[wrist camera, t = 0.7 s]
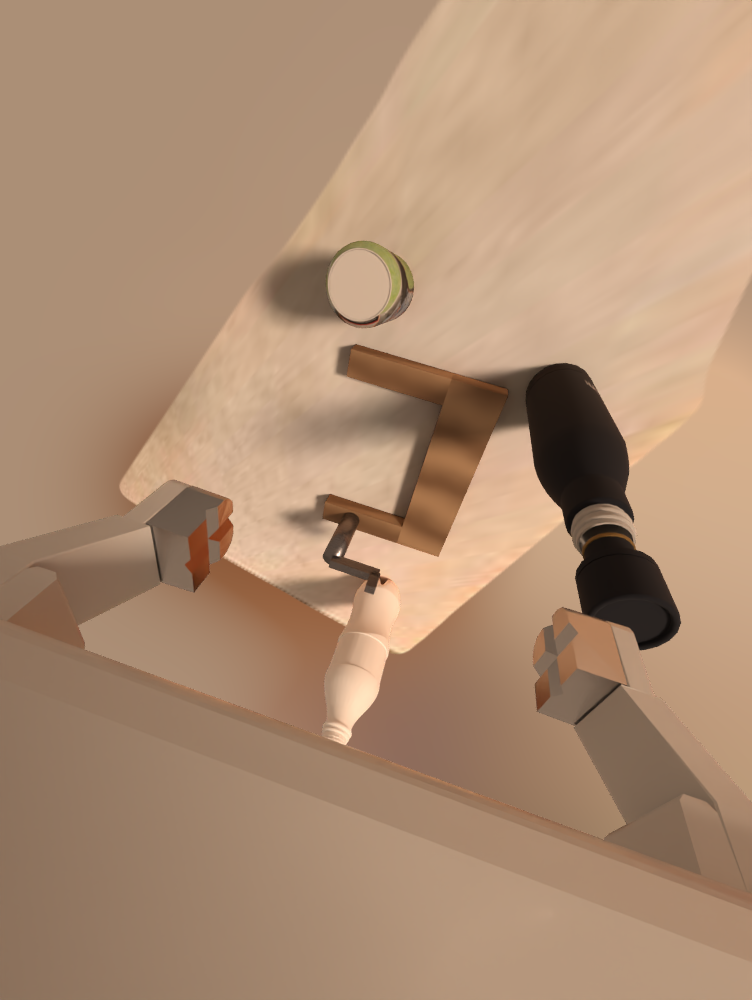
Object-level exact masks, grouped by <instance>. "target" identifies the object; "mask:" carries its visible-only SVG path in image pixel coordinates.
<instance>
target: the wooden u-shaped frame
mask: <svg viewBox="0 0 752 1000" xmlns="http://www.w3.org/2000/svg"><path fill="white" fill-rule="evenodd" d="M347 377H351V378H354V379H357V380H361V381H364V382H367V383H370V384H374V385H377V386H380V387H384V388H387V389H390V390H393V391H397V392H400V393H403V394H407V395H410V396H413V397H417V398H420V399H423V400H426V401H430V402H433V403H436V404H440V405H443V406H442V409H441V412H440V415H439V418H438V421H437V424H436V427H435V430H434V433H433V436H432V439H431V442H430V445H429V448H428V451H427V454H426V457H425V460H424V463H423V466H422V469H421V472H420V475H419V478H418V481H417V484H416V487H415V490H414V493H413V496H412V499H411V502H410V505H409V508H408V511H407V514H406V517H405V518H402V517H399V516H396V515H393V514H390V513H387V512H384V511H381V510H377V509H374V508H371V507H368V506H365V505H362V504H359V503H356V502H353V501H350V500H347V499H344V498H341V497H338V496H335V495H332V494H330V495H329V497H328V498H327V500H326V502H325V506H324V512H323V519H326V520H329V521H332V522H335V523H338V524H339V523H340V521H341V519H342V517H343V515H344V514H345V513H347V512H351V513H354V514H356V515H357V516H358V517H359V524H358V526H357V528H356V530H359V531H362V532H365V533H368V534H371V535H374V536H377V537H380V538H383V539H386V540H389V541H392V542H395V543H398V544H401V545H404V546H407V547H410V548H413V549H416V550H419V551H422V552H425V553H428V554H431V555H434V556H437V557H438V556H439V554H440V552H441V549H442V547H443V545H444V543H445V540H446V538H447V536H448V533H449V531H450V529H451V526H452V524H453V522H454V519H455V517H456V515H457V512H458V510H459V508H460V506H461V503H462V501H463V499H464V496H465V494H466V492H467V489H468V487H469V485H470V482H471V480H472V478H473V476H474V473H475V471H476V469H477V466H478V464H479V462H480V459H481V457H482V455H483V452H484V450H485V448H486V445H487V443H488V441H489V439H490V436H491V434H492V432H493V429H494V427H495V425H496V422H497V420H498V418H499V415H500V413H501V411H502V408H503V406H504V404H505V402H506V399H507V397H508V389H505V388H502V387H499V386H495V385H492V384H488V383H485V382H482V381H478V380H475V379H472V378H468V377H465V376H462V375H458V374H455V373H451V372H448V371H445V370H441V369H438V368H435V367H431V366H428V365H425V364H421V363H418V362H414V361H411V360H408V359H404V358H401V357H398V356H394V355H391V354H388V353H384V352H381V351H377V350H374V349H371V348H367V347H364V346H361V345H357V344H356V345H355V346H354V347H353V348H352V349H351V353H350V359H349V365H348V371H347Z"/></svg>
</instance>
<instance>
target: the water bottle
mask: <svg viewBox="0 0 752 1000" xmlns="http://www.w3.org/2000/svg"><path fill="white" fill-rule="evenodd" d="M366 583H367V580H366V581H365V582H364V583H363V584H362V585H361V586H360V588H359V589H358V590H357V592H356V594H355V597H354V599H353V609H352V613H351V616H350V619H349V621H348V624H347V625H346V627H345V629H344V631H343V632H342V634H341V635H340V637H339V639H338V645H337V647H336V650H335V653H334V656H333V658H332V660H331V663H330V666H329V668H328V669H327V671H326V674H325V681H324V691H325V699H326V705H327V719H326V722H324V723H323V726H322V728H323V730H322V737H325V738H328V739H330V740H333V741H336V742H339V743H341V744H344V745H346V743H347V742H348V741H349V738H350V737H351V735H352V732H351V729H352V727H353V725H354V723H355V722H356V721H357V719H358V718H359V717H360V716H361V715H362V714H363V713H364V712H365V711H366V710H367V709H368V708H369V707H370V706H371V704H372V703H373V702H374V700H375V699H376V697H377V695H378V692H379V688H380V686H379V684H380V680H381V677H382V673H383V668H384V664H385V661H386V659H387V657H388V653H389V639H390V633H391V628H392V626H393V623H394V621H395V620H396V618H397V616H398V613H399V609H400V605H401V602H400V596H399V591H398V588H397V586H396V584H395V583H394V582H393V581H391V580H388V581H387V582H385V583H384V584H383V585H382V584H381V583H380V578H379V580H378V583H377V586H376V589H375V592H374V595H373V594H370V593H367V592H364V590H365V586H366Z"/></svg>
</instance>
